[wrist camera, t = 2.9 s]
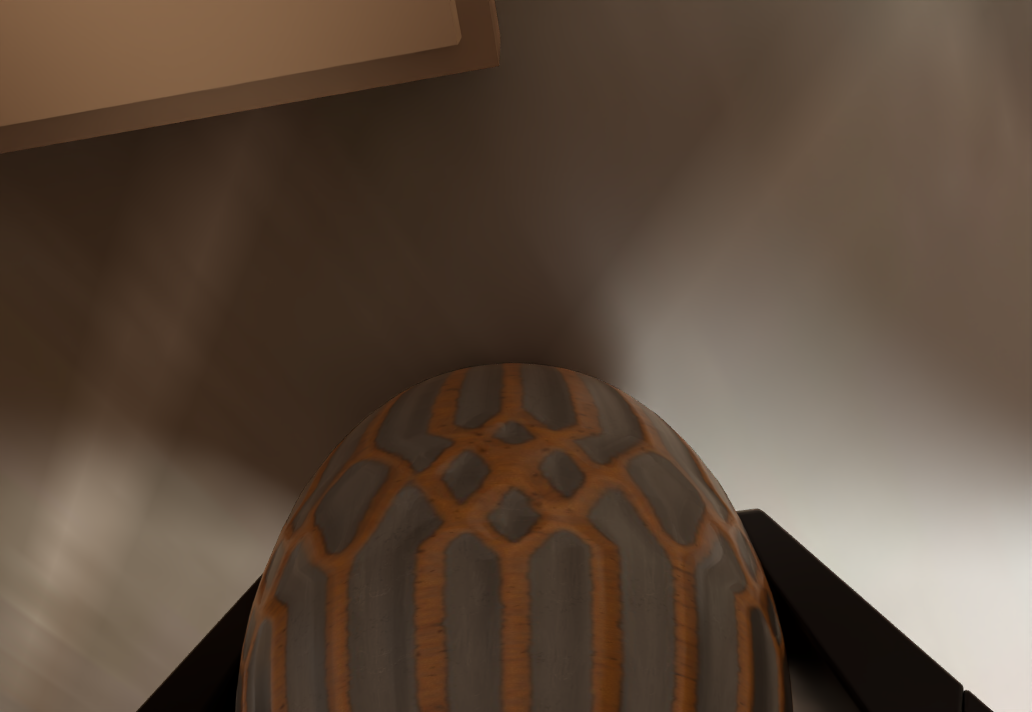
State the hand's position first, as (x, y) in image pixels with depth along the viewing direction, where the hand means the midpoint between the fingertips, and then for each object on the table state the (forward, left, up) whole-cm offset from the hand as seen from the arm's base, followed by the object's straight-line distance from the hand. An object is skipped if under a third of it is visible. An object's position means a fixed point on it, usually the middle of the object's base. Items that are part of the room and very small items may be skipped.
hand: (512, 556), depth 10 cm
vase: (0, 0, -2) cm, 2 cm away
